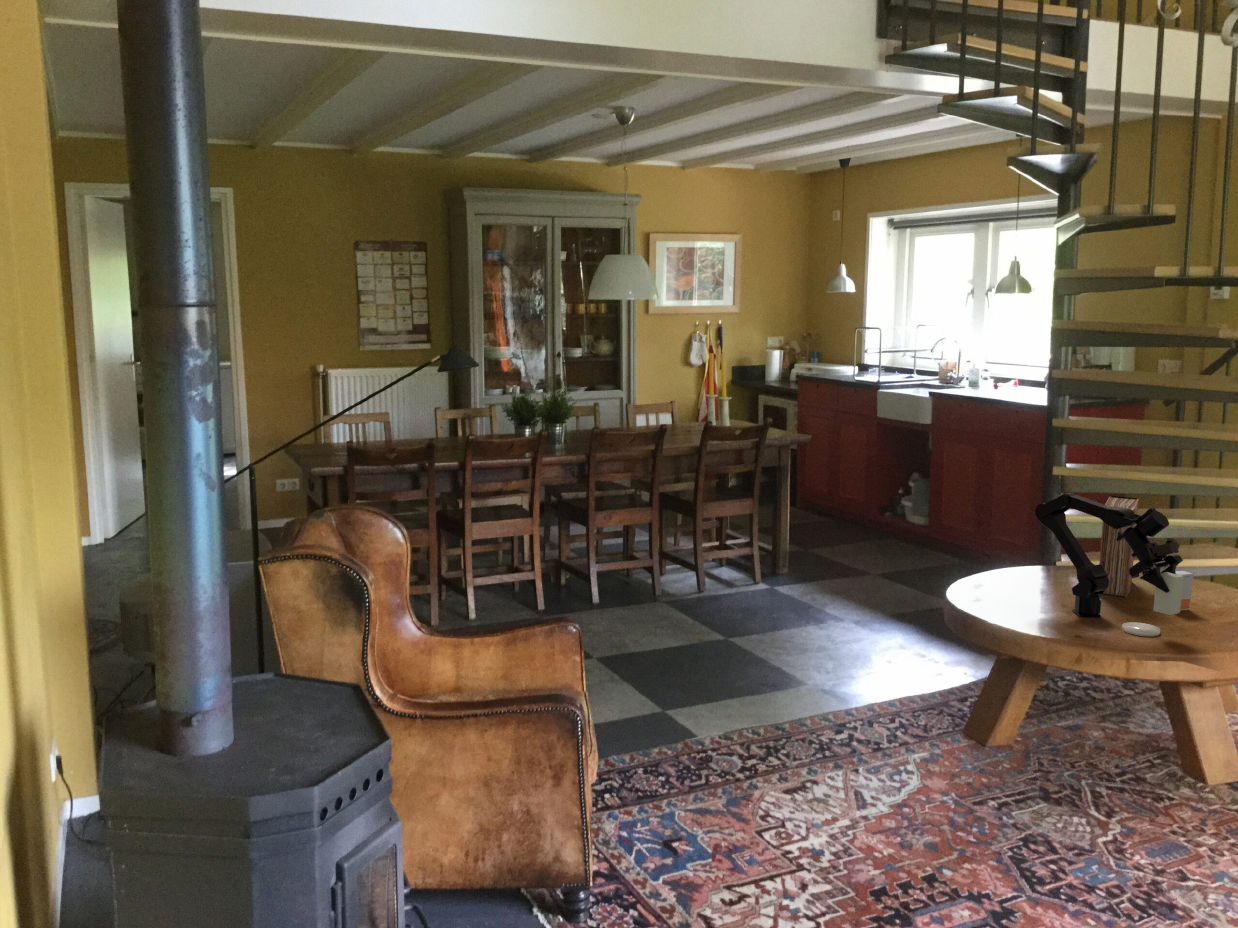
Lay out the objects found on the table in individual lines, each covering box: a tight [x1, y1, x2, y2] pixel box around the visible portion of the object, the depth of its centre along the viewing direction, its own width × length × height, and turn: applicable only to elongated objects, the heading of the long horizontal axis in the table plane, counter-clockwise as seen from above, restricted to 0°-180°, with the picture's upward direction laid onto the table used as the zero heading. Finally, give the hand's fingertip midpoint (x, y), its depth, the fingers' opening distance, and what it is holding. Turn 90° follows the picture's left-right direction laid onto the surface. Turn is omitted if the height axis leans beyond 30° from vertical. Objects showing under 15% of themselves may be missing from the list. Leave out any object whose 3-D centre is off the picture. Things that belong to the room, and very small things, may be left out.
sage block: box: [1152, 572, 1184, 616], centre depth 301 cm, size 5×5×11 cm
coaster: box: [1121, 621, 1161, 637], centre depth 307 cm, size 10×10×1 cm
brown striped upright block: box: [1099, 495, 1140, 599], centre depth 354 cm, size 25×9×30 cm, turn 151°
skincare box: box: [1175, 570, 1194, 612], centre depth 330 cm, size 6×4×12 cm
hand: (1173, 590), depth 300 cm, fingers closed on sage block, 5 cm apart
